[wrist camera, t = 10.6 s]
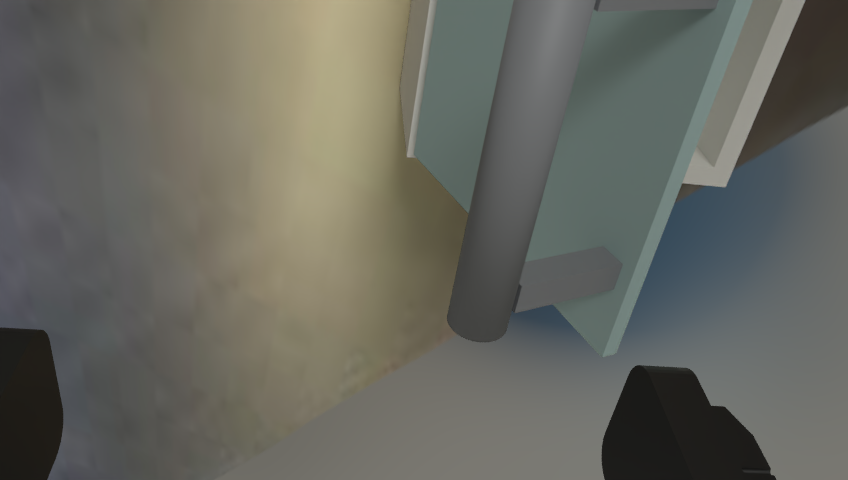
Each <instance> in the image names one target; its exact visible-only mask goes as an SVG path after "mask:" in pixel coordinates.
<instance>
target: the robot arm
mask: <svg viewBox="0 0 848 480" xmlns="http://www.w3.org/2000/svg"><path fill="white" fill-rule="evenodd" d="M62 430H63V408H62V402H61V397H60V392H59V387H58V381H57V376H56V371H55V366H54V361H53V356H52V350H51V345H50V341H49V337H48V335H47V333H46V332H45V331H44V330H34V329H17V328H0V480H47V479H48V476H49V474H50V471H51V469H52V466H53V464H54V461H55V459H56V456H57V453H58V450H59V446H60V442H61V437H62ZM602 468H603V474H604V478H605V480H776V478H775V476H773V475H771V474H770V467H769V465H768V463H767V461H766V459H765V457H764V456H763V453H762V451H761V449H760V448H759V446H758V444H757V442H756V440H755V439H754V436H753V435H752V434H751V433H750V432H749V431H748V430H747V429H746V428H745V427H744V426H743V425H742V424H741V423H740V422H739V421H738V420H737V419H736V418H735V417H734V416H733V415H732V414H731V413H730V412H729V411H728V410H727V409H726V408H725V407H721V406H711V405H710V403H709V401H708V399H707V397H706V395H705V393H704V391H703V389H702V387H701V385H700V383H699V381H698V379H697V377H696V375H695V374H694V373H693V371H691V370H690V369H688V368H677V367H676V368H675V367H659V366H641V365H638V366H635V367H634V368H633V369H632V370H631V372H630V374H629V376H628V378H627V380H626V383H625V386H624V388H623V391H622V393H621V395H620V398H619V400H618V403H617V405H616V408H615V410H614V413H613V415H612V417H611V420H610V422H609V425H608V428H607V430H606V432H605V435H604V439H603V445H602Z"/></svg>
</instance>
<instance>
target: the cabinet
mask: <svg viewBox="0 0 848 480" xmlns="http://www.w3.org/2000/svg"><path fill="white" fill-rule="evenodd" d="M804 2H805V0H753V2H752V4H751V7H750V9H749V12H748V15H747V17H746V20H745V22H744V25H743V27H742V30H741V33H740V35H739V38H738V40H737V43H736V46H735V48H734V51H733V53H732V56H731V58H730V61H729V64H728V66H727V69H726V71H725V74H724V76H723V79H722V82H721V84H720V87H719V89H718V92H717V94H716V97H715V100H714V102H713V105H712V107H711V110H710V113H709V115H708V118H707V120H706V123H705V125H704V128H703V131H702V133H701V136H700V138H699V141H698V143H697V146H696V149H695V151H694V154H693V156H692V159H691V161H690V164H689V167H688V169H687V172H686V174H685V177H684V180H683V182H682V183H686V184H696V185H707V186H717V187H726V185H727V183H728V180H729V178H730V176H731V173H732V171H733V169H734V166H735V164H736V162H737V159H738V157H739V155H740V152H741V150H742V148H743V145H744V143H745V141H746V138H747V136H748V134H749V131H750V129H751V127H752V124H753V122H754V119H755V117H756V115H757V112H758V110H759V108H760V105H761V103H762V101H763V98H764V96H765V94H766V91H767V89H768V87H769V84H770V82H771V80H772V77H773V75H774V73H775V70H776V68H777V66H778V63H779V61H780V59H781V56H782V54H783V52H784V49H785V47H786V45H787V42H788V40H789V38H790V35H791V33H792V30H793V28H794V26H795V23H796V21H797V19H798V16H799V14H800V12H801V9H802V7H803V5H804ZM436 7H437V0H411V6H410V14H409V21H408V29H407V36H406V44H405V51H404V58H403V66H402V73H401V81H400V96H401V106H402V115H403V125H404V135H405V145H406V154H407V157H410V158H416V156H415V155H414V150H415V143H416V137H417V130H418V124H419V117H420V111H421V104H422V98H423V91H424V85H425V78H426V72H427V65H428V59H429V52H430V46H431V39H432V33H433V26H434V20H435V13H436Z"/></svg>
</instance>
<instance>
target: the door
mask: <svg viewBox="0 0 848 480" xmlns="http://www.w3.org/2000/svg"><path fill="white" fill-rule="evenodd" d="M752 2H753V0H437V7H436V13H435V20H434V26H433V33H432V39H431V46H430V52H429V59H428V65H427V72H426V78H425V85H424V91H423V98H422V104H421V111H420V117H419V124H418V130H417V137H416V143H415V150H414V155H415V156H416V158H417V159H418V160H419V161H420V162H421V163H422V164H423V165H424V166H425V167H426V168H427V169H428V171H429V172H430V173H431V174H432V175H433V176H434V177H435V178H436V179H437V180H438V181H439V182H440V183H441V185H442V186H443V187H444V188H445V189H446V190H447V191H448V192H449V193H450V194H451V195H452V196H453V197H454V199H455V200H456V201H457V202H458V203H459V204H460V205H461V206H462V207H463V208H464V209H465V210H466V211H467V213H468V214H469V215H468V220H467V224H466V229H465V234H464V239H463V243H462V248H461V253H460V258H459V262H458V267H457V272H456V277H455V281H454V286H453V291H452V296H451V300H450V305H449V310H448V315H447V321H448V324H449V326H450V327H451V328H452V330H453V331H454V332H455V333H457V334H458V335H460V336H461V337H463V338H465V339H468V340H472V341H476V342H491V341H495V340H497V339H499V338H501V337H502V336H503V335H504V334H505V332H506V330H507V326H508V322H509V318H510V315H511V311H513V312H514V313H517V312H522V311H526V310H529V309H534V308H538V307H543V306H547V305H551V304H553V305H554V306H555V307H556V308H557V309H558V311H559V312H560V313H561V314H562V315H563V316H564V317H565V318H566V319H567V320H568V321H569V322H570V324H571V325H572V326H573V327H574V328H575V329H576V330H577V331H578V332H579V333H580V334H581V335H582V337H583V338H585V340H586V341H587V342H588V343H589V344H590V345H591V346H592V347H593V348H594V349H595V350H596V352H597V353H598V354H599V355H600V356H601V357H605V356H609V355H612V354H616V352H617V349H618V347H619V344H620V342H621V339H622V336H623V334H624V331H625V329H626V326H627V324H628V321H629V319H630V316H631V313H632V311H633V308H634V306H635V303H636V301H637V298H638V295H639V293H640V290H641V288H642V285H643V283H644V280H645V277H646V275H647V272H648V270H649V267H650V265H651V262H652V259H653V257H654V254H655V251H656V249H657V246H658V244H659V241H660V239H661V236H662V233H663V231H664V228H665V226H666V223H667V220H668V218H669V215H670V213H671V210H672V208H673V205H674V203H675V200H676V198H677V195H678V192H679V190H680V187H681V185H682V182H683V180H684V177H685V174H686V172H687V169H688V167H689V164H690V161H691V159H692V156H693V154H694V151H695V149H696V146H697V143H698V141H699V138H700V136H701V133H702V131H703V128H704V125H705V123H706V120H707V118H708V115H709V113H710V110H711V107H712V105H713V102H714V100H715V97H716V94H717V92H718V89H719V87H720V84H721V82H722V79H723V76H724V74H725V71H726V69H727V66H728V64H729V61H730V58H731V56H732V53H733V51H734V48H735V46H736V43H737V40H738V38H739V35H740V33H741V30H742V27H743V25H744V22H745V20H746V17H747V15H748V12H749V9H750V7H751V4H752Z"/></svg>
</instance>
